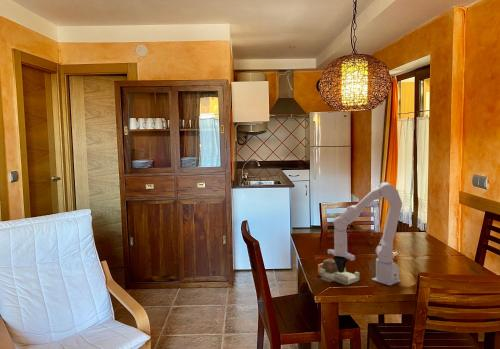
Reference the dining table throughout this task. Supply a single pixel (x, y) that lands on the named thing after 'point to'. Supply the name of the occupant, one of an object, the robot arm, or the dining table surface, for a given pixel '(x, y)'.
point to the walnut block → (330, 266)
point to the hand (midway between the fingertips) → (341, 272)
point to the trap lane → (339, 275)
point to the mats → (326, 279)
